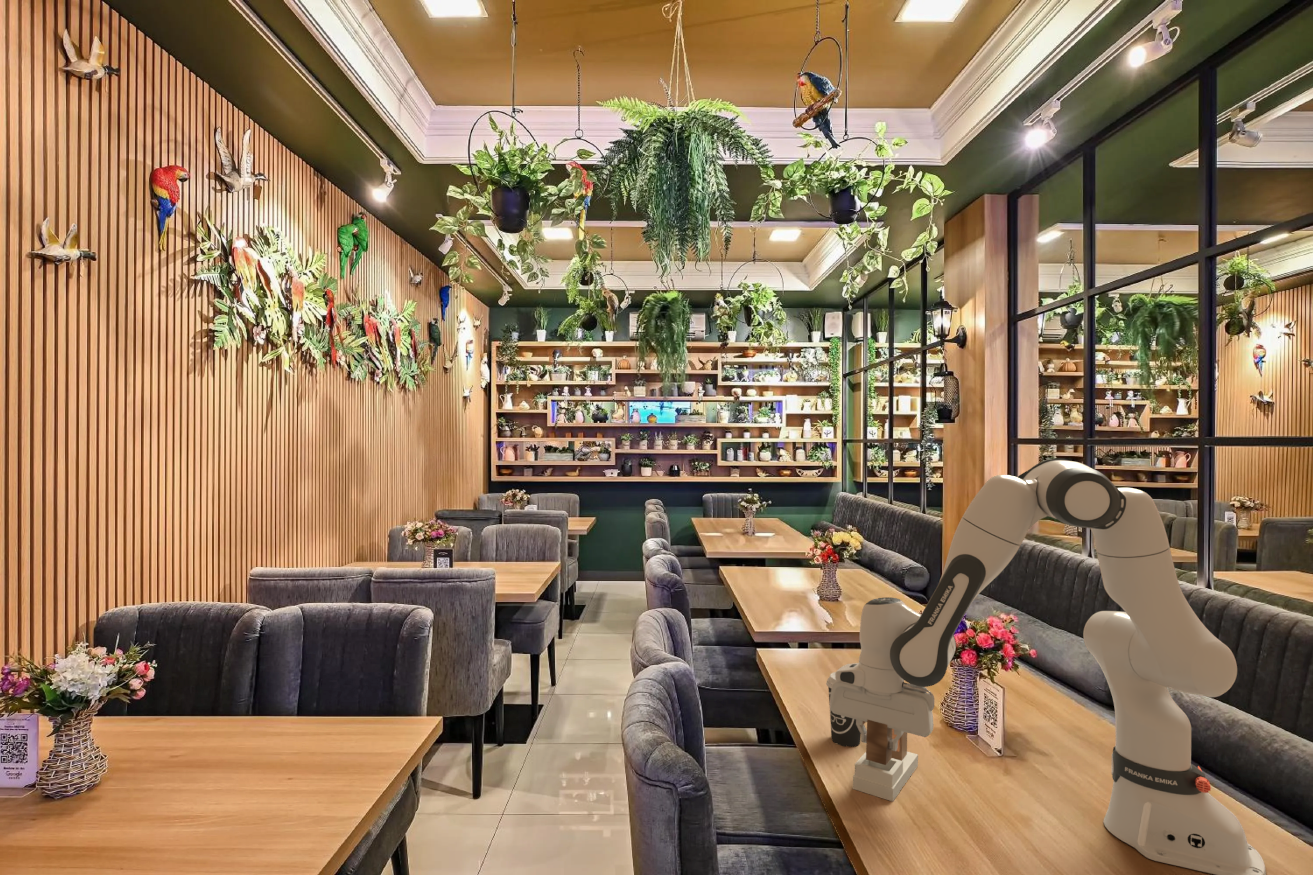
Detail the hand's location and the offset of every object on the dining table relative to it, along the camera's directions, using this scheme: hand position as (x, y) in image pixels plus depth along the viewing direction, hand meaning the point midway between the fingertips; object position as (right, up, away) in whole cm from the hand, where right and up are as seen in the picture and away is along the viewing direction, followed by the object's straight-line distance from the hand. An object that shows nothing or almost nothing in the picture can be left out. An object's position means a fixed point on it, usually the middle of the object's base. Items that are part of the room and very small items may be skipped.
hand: (879, 745), depth 136 cm
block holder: (+3, -9, +5) cm, 10 cm away
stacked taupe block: (0, -3, 0) cm, 3 cm away
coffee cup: (-1, -9, +22) cm, 24 cm away
